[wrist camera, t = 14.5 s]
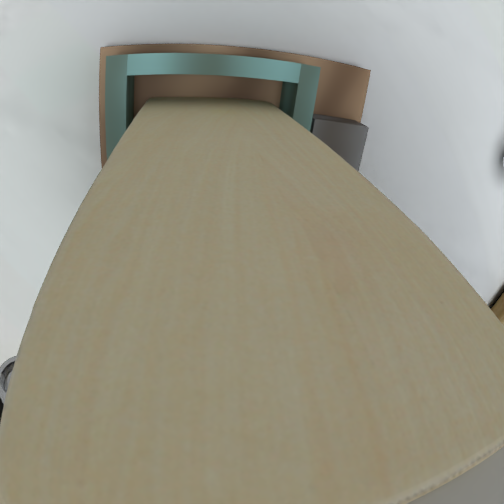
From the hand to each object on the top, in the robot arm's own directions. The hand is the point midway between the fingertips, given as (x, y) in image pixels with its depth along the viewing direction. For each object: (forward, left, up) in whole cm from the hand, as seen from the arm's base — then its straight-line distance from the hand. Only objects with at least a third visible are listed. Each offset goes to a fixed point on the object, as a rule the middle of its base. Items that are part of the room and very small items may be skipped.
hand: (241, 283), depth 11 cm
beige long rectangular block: (0, 0, -13) cm, 13 cm away
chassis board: (-2, 0, -15) cm, 15 cm away
